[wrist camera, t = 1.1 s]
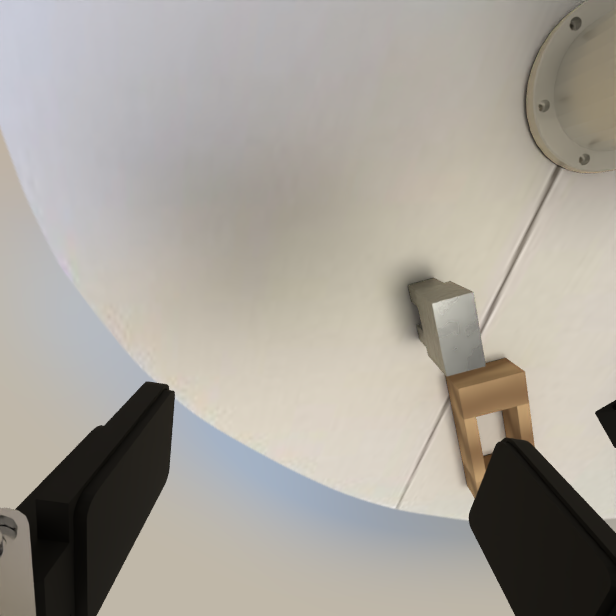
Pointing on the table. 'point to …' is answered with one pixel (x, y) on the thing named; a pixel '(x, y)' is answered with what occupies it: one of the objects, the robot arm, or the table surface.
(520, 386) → the slotted wooden block
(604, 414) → the black stepped block
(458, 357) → the clip
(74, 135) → the table surface
